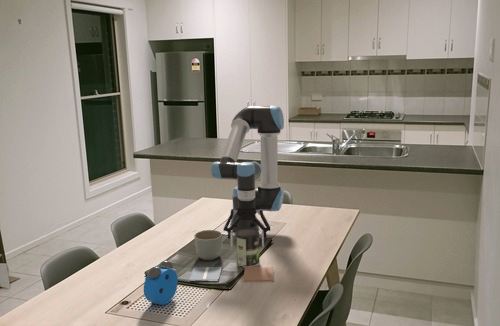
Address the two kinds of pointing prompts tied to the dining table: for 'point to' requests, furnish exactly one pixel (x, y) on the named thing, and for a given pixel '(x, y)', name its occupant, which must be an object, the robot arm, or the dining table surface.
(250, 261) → the coffee can
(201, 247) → the planter
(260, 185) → the robot arm
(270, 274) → the pad
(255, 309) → the dining table surface
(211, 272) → the pad
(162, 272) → the alarm clock
